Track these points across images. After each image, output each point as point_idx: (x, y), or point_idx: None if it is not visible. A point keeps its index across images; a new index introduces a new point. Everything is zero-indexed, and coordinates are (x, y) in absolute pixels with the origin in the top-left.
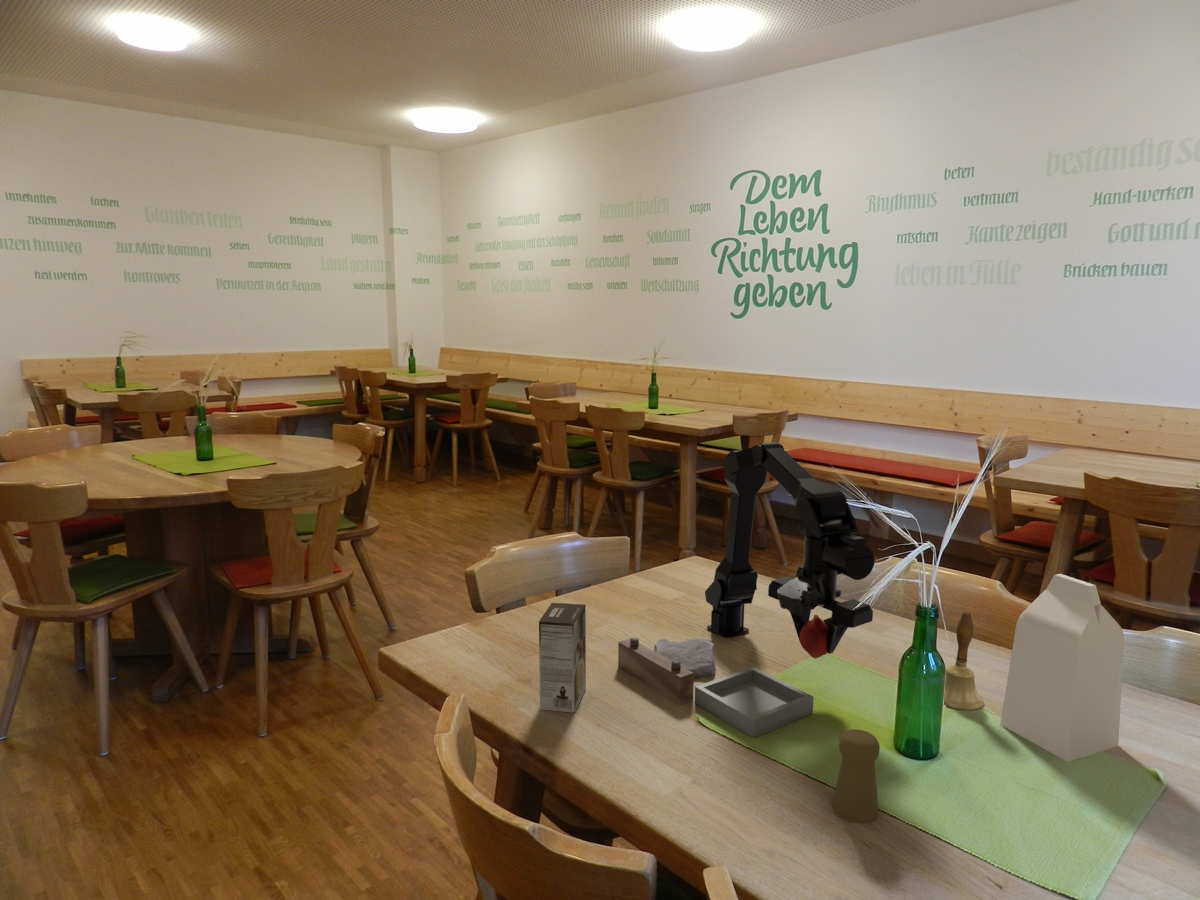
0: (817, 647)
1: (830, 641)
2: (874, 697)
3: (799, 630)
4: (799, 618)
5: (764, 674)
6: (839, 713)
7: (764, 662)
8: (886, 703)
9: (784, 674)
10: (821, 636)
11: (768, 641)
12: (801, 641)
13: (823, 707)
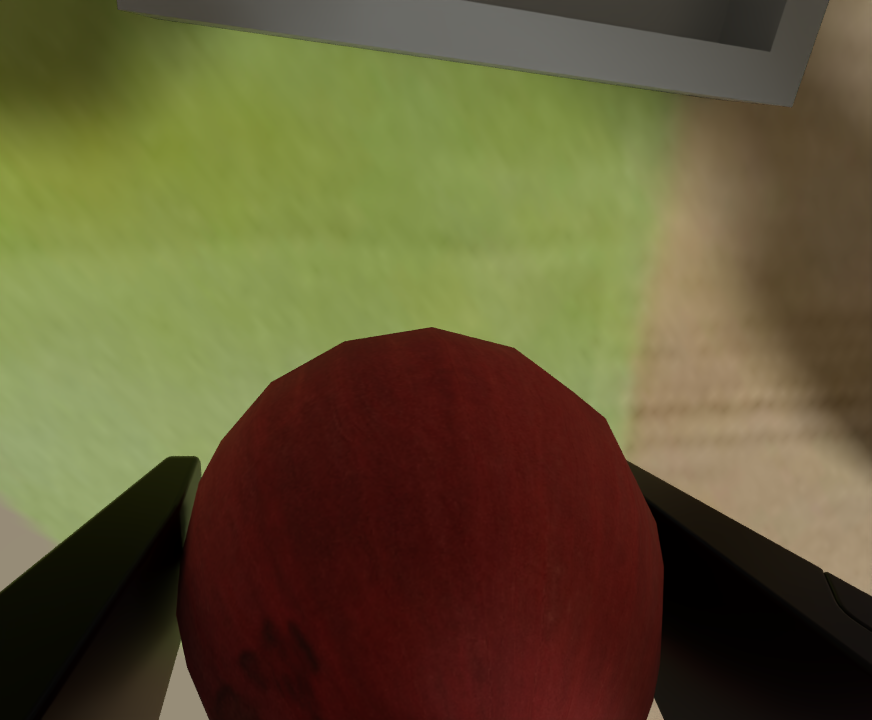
0: (268, 400)
1: (53, 570)
2: (105, 506)
3: (676, 524)
4: (813, 685)
5: (664, 52)
6: (50, 181)
7: (755, 365)
8: (9, 505)
9: (608, 339)
10: (235, 566)
11: (821, 538)
12: (523, 358)
13: (180, 168)
